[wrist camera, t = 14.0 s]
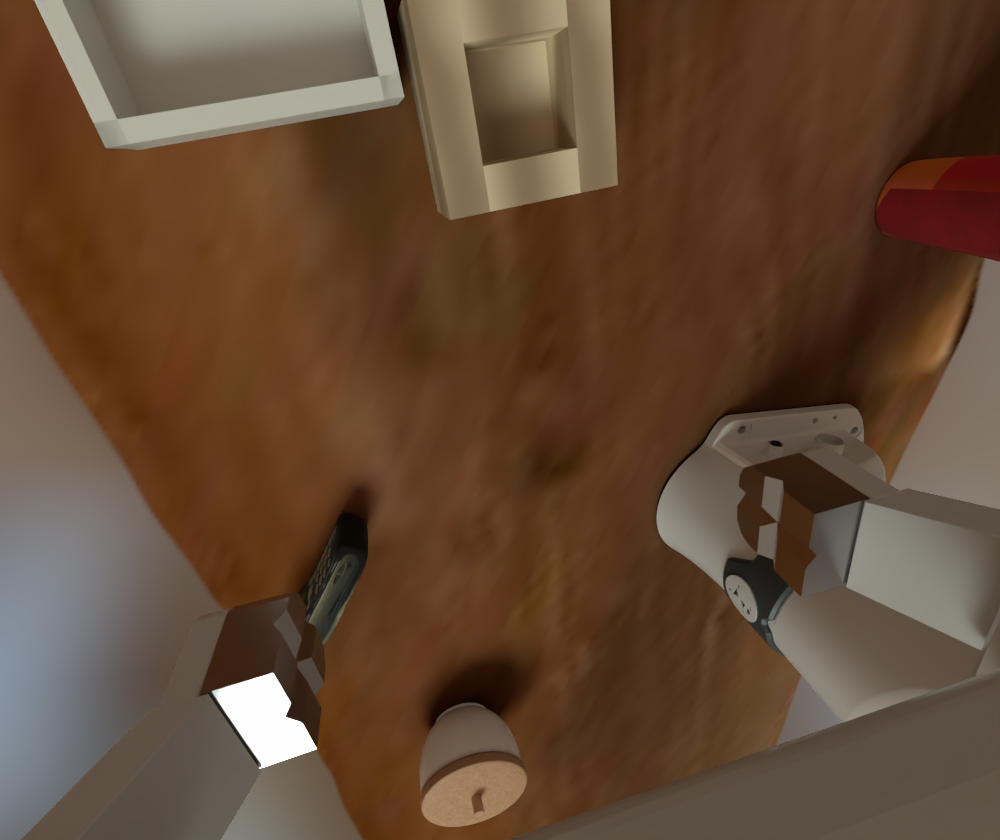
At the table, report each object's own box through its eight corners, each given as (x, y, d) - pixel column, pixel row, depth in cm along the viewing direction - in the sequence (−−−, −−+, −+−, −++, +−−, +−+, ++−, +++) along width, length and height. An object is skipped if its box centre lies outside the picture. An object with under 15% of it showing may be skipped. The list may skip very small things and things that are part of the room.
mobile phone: (335, 545, 36) (268, 691, 40) (375, 554, 37) (306, 695, 42) (337, 506, 41) (276, 641, 45) (373, 515, 42) (310, 645, 46)
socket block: (570, -11, 29) (608, -40, 24) (584, 181, 34) (617, 185, 29) (396, 15, 27) (404, -11, 23) (437, 211, 32) (450, 220, 28)
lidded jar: (477, 673, 54) (498, 765, 45) (524, 715, 59) (551, 803, 51) (393, 725, 54) (400, 825, 46) (447, 762, 59) (462, 857, 51)
